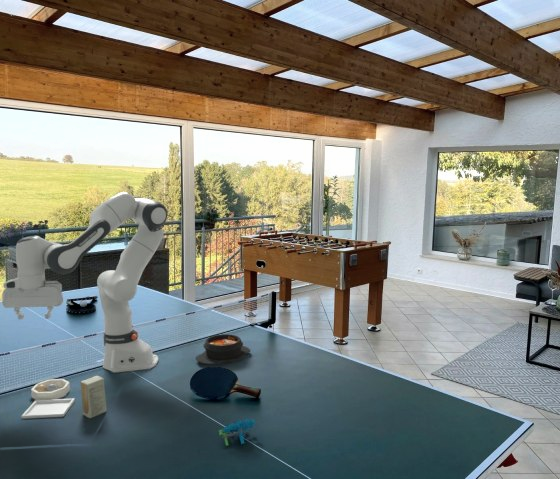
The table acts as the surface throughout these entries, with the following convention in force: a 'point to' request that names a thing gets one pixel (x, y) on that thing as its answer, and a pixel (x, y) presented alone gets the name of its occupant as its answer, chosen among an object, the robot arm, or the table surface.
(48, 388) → the pebble slate
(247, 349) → the casserole
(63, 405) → the parts tray
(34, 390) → the bowl
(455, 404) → the table surface
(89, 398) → the skincare box
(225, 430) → the blue plastic piece
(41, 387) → the pebble sand
